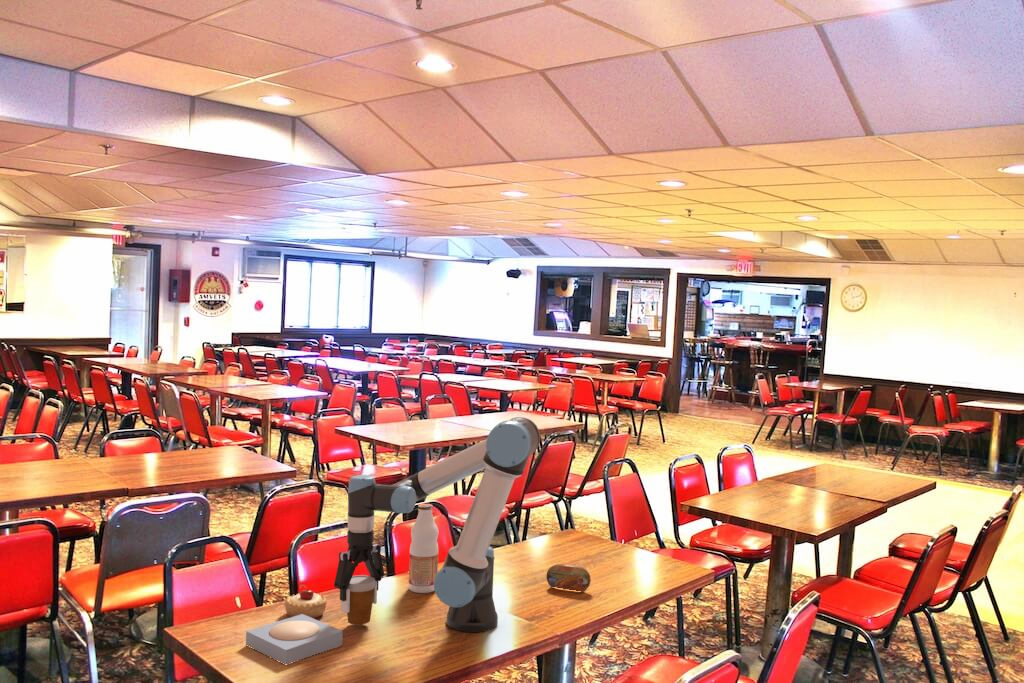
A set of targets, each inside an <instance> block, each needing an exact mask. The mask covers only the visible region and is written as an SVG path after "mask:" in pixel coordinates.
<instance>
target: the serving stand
mask: <svg viewBox="0 0 1024 683" xmlns="http://www.w3.org/2000/svg"><path fill="white" fill-rule="evenodd" d="M245 632H246V633H245V646H246V645H248V646H250V647H252V648H254V649H255V650H257V651H259V652H261V653H263V654H265V655H267V656H269V657H271V658H273V659H275V660H278V661H280V662H282V663H284V664H289V663H291V662H294V661H297V660H300V659H303V658H306V657H309V656H311V657H313V656H312V655H314V656H316V655H315V654H317V655H319V654H318V653H320V654H322V653H325V652H328V651H331V650H333V648H334V649H336V648H339V647H342V646H343V632H344V631H343V630H342V629H339V628H337V627H335V626H332V625H330V624H327V623H326V622H322V621H320V620H318V619H317V618H315V619H313V618H311V617H308V616H306V615H304V614H301V615H297V616H294V617H291V618H290V617H288V618H285V619H284V618H283V619H281V620H278V621H275V622H271V623H268V624H265V625H262V626H259V627H255V628H252V629H249V630H245ZM341 645H342V646H341ZM338 646H339V647H338ZM330 649H331V650H330ZM255 650H254V651H255ZM327 650H328V651H327ZM257 651H256V652H257ZM324 651H325V652H324ZM259 652H258V653H259ZM321 652H322V653H321ZM261 653H260V654H261ZM263 654H262V655H263ZM265 655H264V656H265ZM267 656H266V657H267ZM269 657H268V658H269ZM271 658H270V659H271ZM309 658H310V657H309ZM273 659H272V660H273ZM306 659H307V658H306ZM275 660H274V661H275ZM303 660H304V659H303ZM300 661H301V660H300ZM297 662H298V661H297ZM289 665H290V664H289Z"/></svg>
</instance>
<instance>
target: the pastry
mask: <svg viewBox="0 0 1024 683" xmlns="http://www.w3.org/2000/svg"><path fill="white" fill-rule="evenodd" d="M302 586H303V587H304V588H305V589H306V590H304V589H303V590H301V591H300V593H299V592H298V593H296V595H295V594H292V595H289V596H288V597H286V599H285V601H284V607H285V608H284V609H285V611H286V613H287V616H288V618H291V617H294V616H297V615H301V614H304V615H306V616H308V617H311V618H313V619H318V618H320V617H321V616H322V615H323V614H324V612H325V611H326V608H327V599H326V597H325V596H324V595H323V594H321V593H316V592H314V591H313V590H311V589H308V588H307V586H306V585H304V584H300V587H299V589H301V588H302Z"/></svg>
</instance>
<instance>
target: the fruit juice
mask: <svg viewBox="0 0 1024 683" xmlns="http://www.w3.org/2000/svg"><path fill="white" fill-rule="evenodd" d="M433 509H434V506H433V504H431V503H419V504H418V505H417V511H418V514H417V517H416V520H415V521H414V523H413V524H412V527H411V530H410V536H411V543H410V545H409V566H408V567H409V568H408V573H409V574H408V589H409V591H410V592H412V593H416V594H429V593H430V594H431V593H433V592H435V590H434V580H435V577H436V575H437V573H438V571H439V543H438V536H439V528H438V525H437V523H436V522H435V519H434V516H433Z"/></svg>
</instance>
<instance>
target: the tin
mask: <svg viewBox="0 0 1024 683" xmlns="http://www.w3.org/2000/svg"><path fill="white" fill-rule="evenodd" d="M546 582H547V583H548V585H549V587H550V588H552V587H557V588H563V589H569V590H576V591H581V592H582V593H584V592H586V590H588V589H589V587H590V585H591V582H592V580H591V575H590V572H589V571H588V570H587V569H586V568H584V567H583V566H577V565H567V564H561V563H560V564H559V563H558V564H554V565H552V566H550V567H549V568H548V569H547V571H546Z"/></svg>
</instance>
